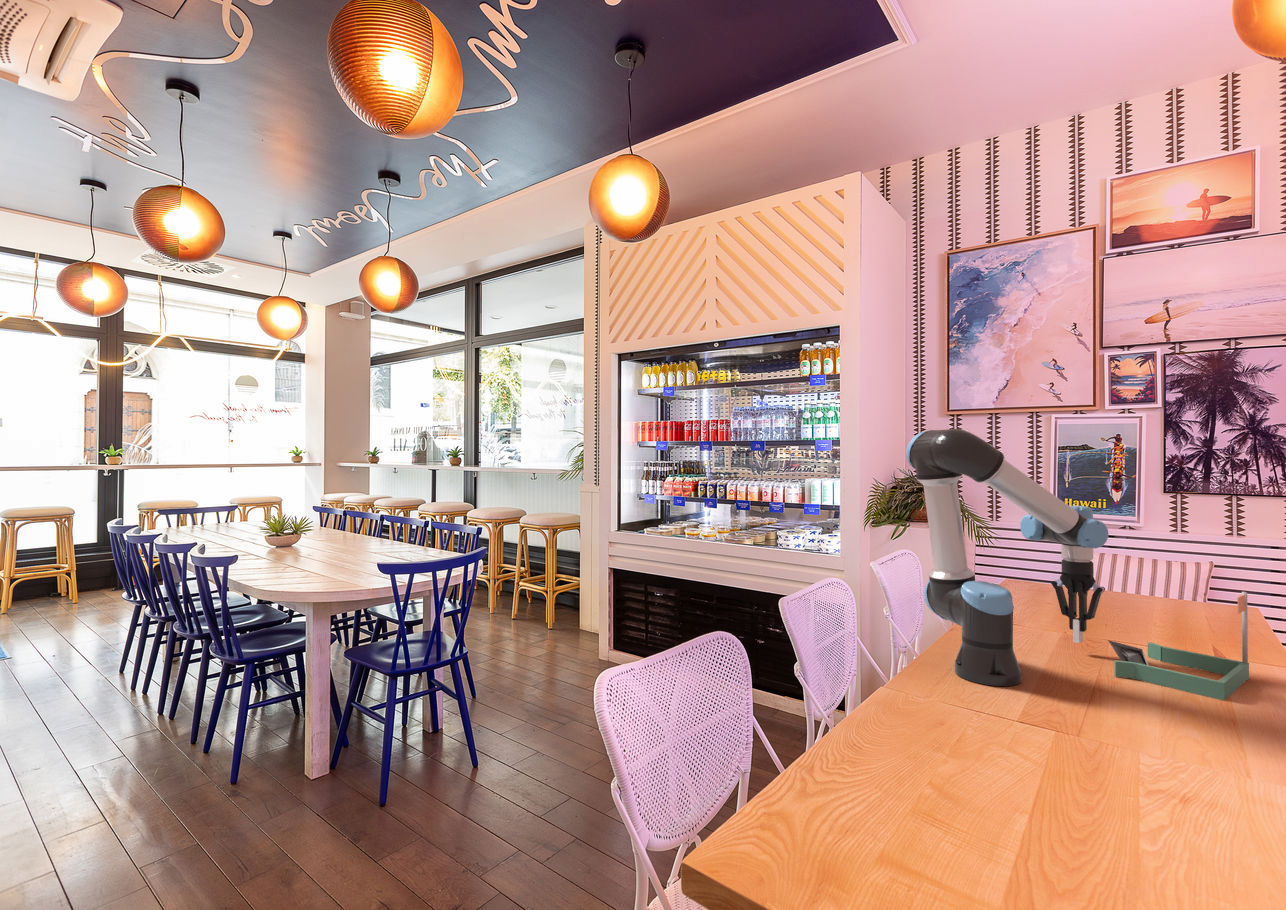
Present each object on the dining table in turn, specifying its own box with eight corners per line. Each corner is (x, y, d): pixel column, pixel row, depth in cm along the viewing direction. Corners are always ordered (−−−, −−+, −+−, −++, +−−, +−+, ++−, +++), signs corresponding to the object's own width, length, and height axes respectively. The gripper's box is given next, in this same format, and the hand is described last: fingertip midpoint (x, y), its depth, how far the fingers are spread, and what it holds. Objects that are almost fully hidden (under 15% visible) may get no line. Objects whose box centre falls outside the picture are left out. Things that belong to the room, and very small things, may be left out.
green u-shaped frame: (1112, 676, 160) (1112, 591, 160) (1148, 655, 175) (1148, 578, 175) (1221, 702, 143) (1220, 607, 143) (1250, 677, 158) (1250, 591, 158)
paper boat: (1168, 667, 163) (1159, 665, 157) (1150, 684, 165) (1140, 683, 159) (1123, 633, 172) (1113, 630, 166) (1106, 650, 174) (1096, 647, 168)
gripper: (1109, 561, 175) (1110, 644, 175) (1057, 555, 185) (1057, 634, 185) (1099, 564, 170) (1099, 650, 170) (1046, 558, 181) (1047, 638, 181)
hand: (1078, 641), depth 178 cm, fingers closed
